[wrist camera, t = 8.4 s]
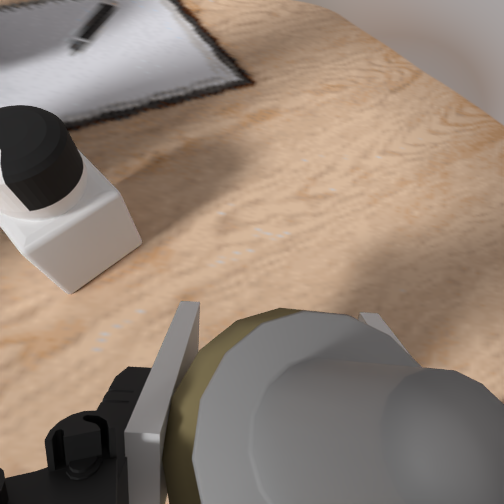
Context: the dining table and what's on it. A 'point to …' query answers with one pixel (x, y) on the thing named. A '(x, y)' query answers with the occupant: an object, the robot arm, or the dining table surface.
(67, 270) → the medicine bottle
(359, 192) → the dining table surface
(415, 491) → the squeeze bottle
